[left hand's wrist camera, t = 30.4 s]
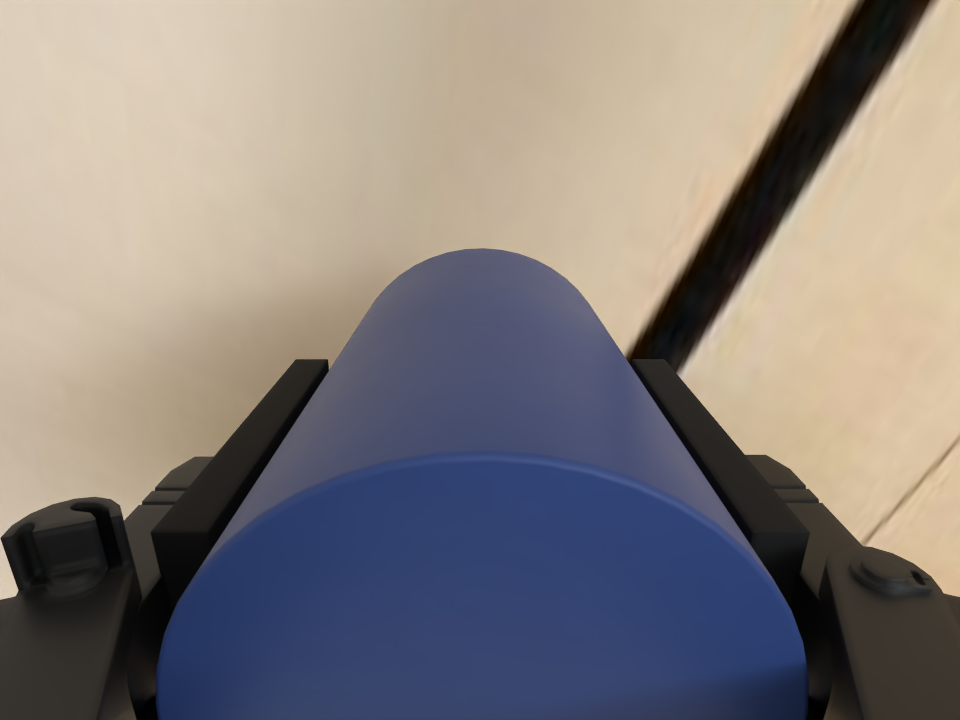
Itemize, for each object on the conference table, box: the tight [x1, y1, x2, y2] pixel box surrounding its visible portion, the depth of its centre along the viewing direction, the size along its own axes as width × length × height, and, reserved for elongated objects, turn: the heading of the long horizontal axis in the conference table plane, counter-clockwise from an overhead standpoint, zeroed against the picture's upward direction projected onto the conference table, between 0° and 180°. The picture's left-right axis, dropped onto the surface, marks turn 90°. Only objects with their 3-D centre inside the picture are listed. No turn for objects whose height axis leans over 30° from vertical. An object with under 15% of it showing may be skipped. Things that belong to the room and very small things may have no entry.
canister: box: [156, 249, 809, 720], centre depth 12 cm, size 7×7×11 cm
